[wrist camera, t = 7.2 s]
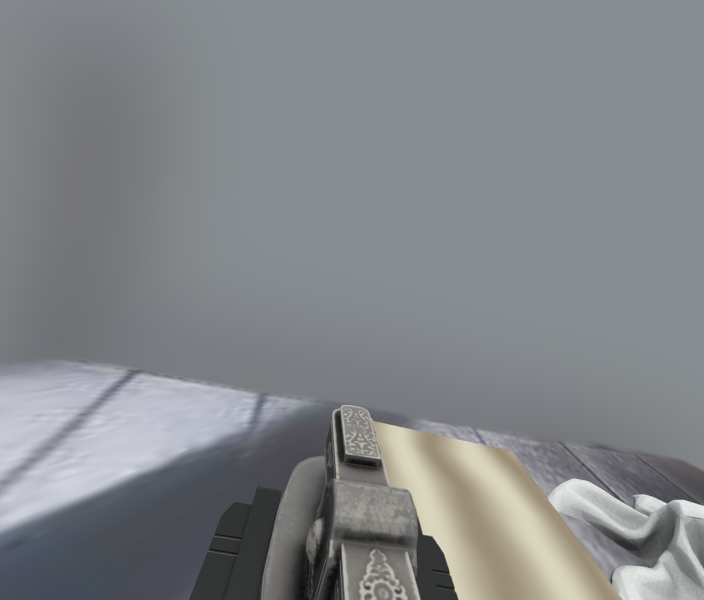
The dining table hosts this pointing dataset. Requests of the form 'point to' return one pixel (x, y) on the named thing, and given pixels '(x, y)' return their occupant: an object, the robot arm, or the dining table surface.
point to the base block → (490, 520)
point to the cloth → (644, 539)
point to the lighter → (343, 524)
